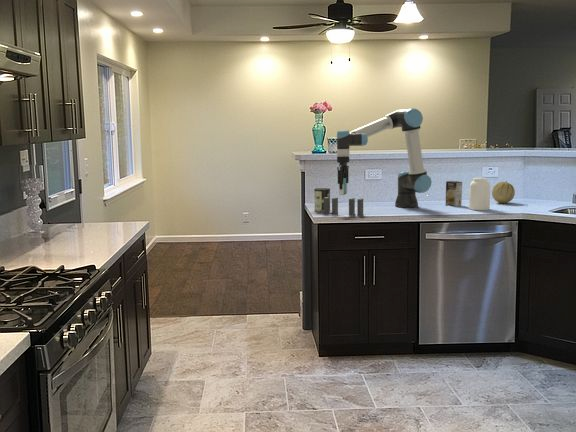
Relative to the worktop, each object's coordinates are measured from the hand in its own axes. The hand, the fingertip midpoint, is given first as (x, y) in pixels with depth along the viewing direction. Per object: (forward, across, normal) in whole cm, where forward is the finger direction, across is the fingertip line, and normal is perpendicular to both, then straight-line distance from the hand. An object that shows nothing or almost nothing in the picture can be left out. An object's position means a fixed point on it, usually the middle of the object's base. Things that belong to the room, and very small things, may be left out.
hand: (343, 194), depth 374 cm
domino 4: (+13, 0, +11) cm, 17 cm away
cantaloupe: (+12, -87, +83) cm, 121 cm away
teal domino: (0, 0, 0) cm, 0 cm away
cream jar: (+12, -50, +73) cm, 89 cm away
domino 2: (+13, 0, -5) cm, 14 cm away
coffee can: (+13, -12, -19) cm, 26 cm away
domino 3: (+13, 0, +6) cm, 14 cm away
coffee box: (+12, -65, +54) cm, 86 cm away
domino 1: (+13, 0, -11) cm, 17 cm away
